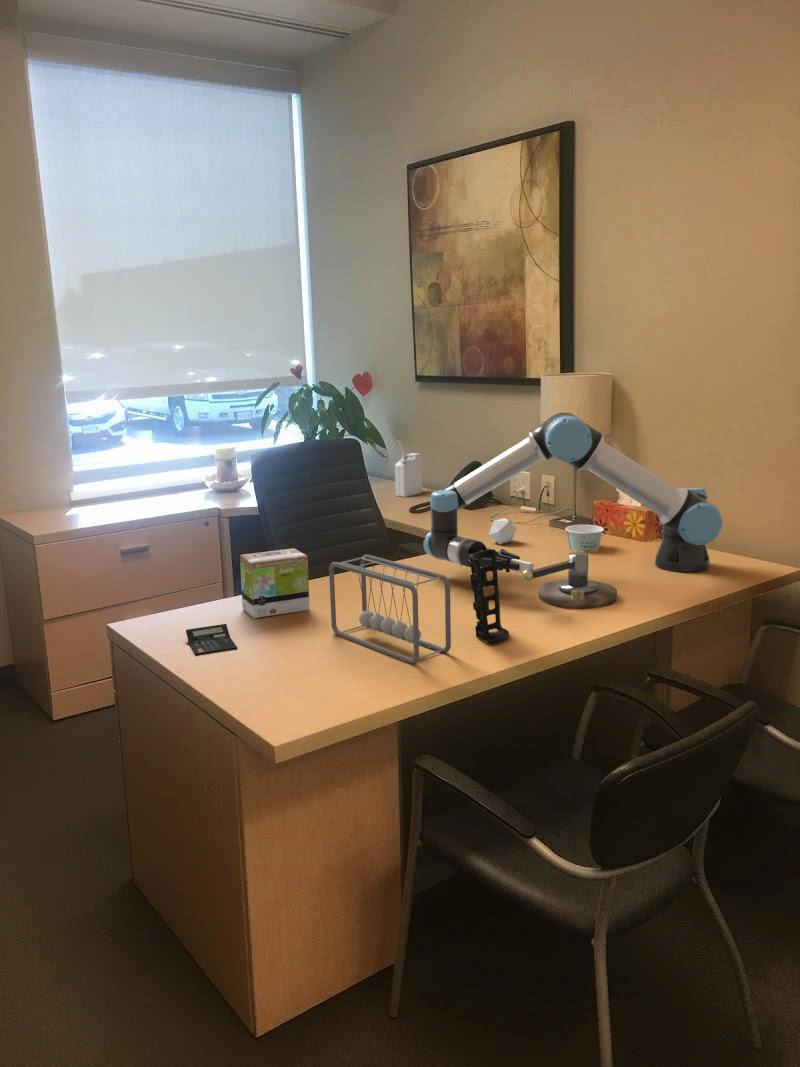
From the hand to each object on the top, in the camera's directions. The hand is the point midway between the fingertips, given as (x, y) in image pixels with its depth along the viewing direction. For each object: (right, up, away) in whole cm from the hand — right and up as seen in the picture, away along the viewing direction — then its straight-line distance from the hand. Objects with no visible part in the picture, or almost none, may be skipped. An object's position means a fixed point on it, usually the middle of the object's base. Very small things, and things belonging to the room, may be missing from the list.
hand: (531, 568), depth 222 cm
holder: (-13, -15, -21) cm, 29 cm away
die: (+1, +6, +69) cm, 69 cm away
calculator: (-76, -17, -21) cm, 81 cm away
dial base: (+13, -8, +7) cm, 17 cm away
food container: (+26, +4, +58) cm, 64 cm away
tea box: (-65, -11, +3) cm, 66 cm away
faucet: (+7, -7, +2) cm, 10 cm away
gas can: (-30, +25, +158) cm, 163 cm away
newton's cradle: (-36, -16, -23) cm, 46 cm away
